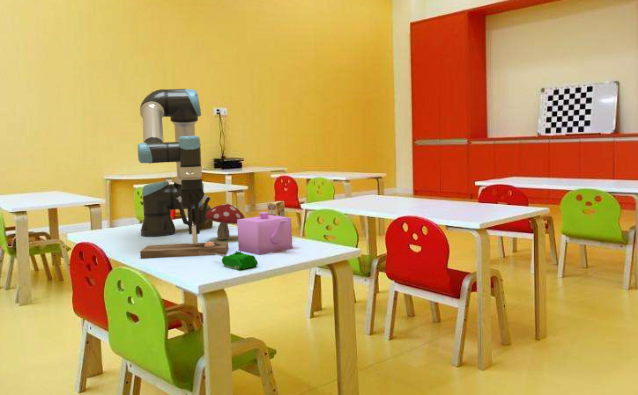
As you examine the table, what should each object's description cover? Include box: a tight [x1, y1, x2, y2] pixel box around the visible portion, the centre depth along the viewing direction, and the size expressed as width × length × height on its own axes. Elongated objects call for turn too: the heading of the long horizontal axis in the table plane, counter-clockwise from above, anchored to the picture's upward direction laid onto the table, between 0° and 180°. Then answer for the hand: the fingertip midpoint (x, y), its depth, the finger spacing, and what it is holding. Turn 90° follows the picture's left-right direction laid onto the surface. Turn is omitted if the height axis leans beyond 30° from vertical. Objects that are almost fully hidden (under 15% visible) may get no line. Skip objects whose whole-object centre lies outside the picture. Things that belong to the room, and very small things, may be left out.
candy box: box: [267, 200, 286, 217], centre depth 234 cm, size 9×4×15 cm, turn 163°
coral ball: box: [204, 240, 215, 247], centre depth 212 cm, size 4×4×4 cm
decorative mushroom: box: [206, 203, 245, 241], centre depth 237 cm, size 16×16×15 cm
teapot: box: [236, 211, 293, 256], centre depth 212 cm, size 15×25×14 cm, turn 41°
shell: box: [192, 202, 214, 230], centre depth 273 cm, size 11×11×12 cm
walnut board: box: [139, 241, 229, 260], centre depth 211 cm, size 12×30×2 cm, turn 95°
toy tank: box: [212, 250, 259, 271], centre depth 188 cm, size 7×19×5 cm, turn 41°
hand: (195, 242), depth 211 cm, fingers closed
